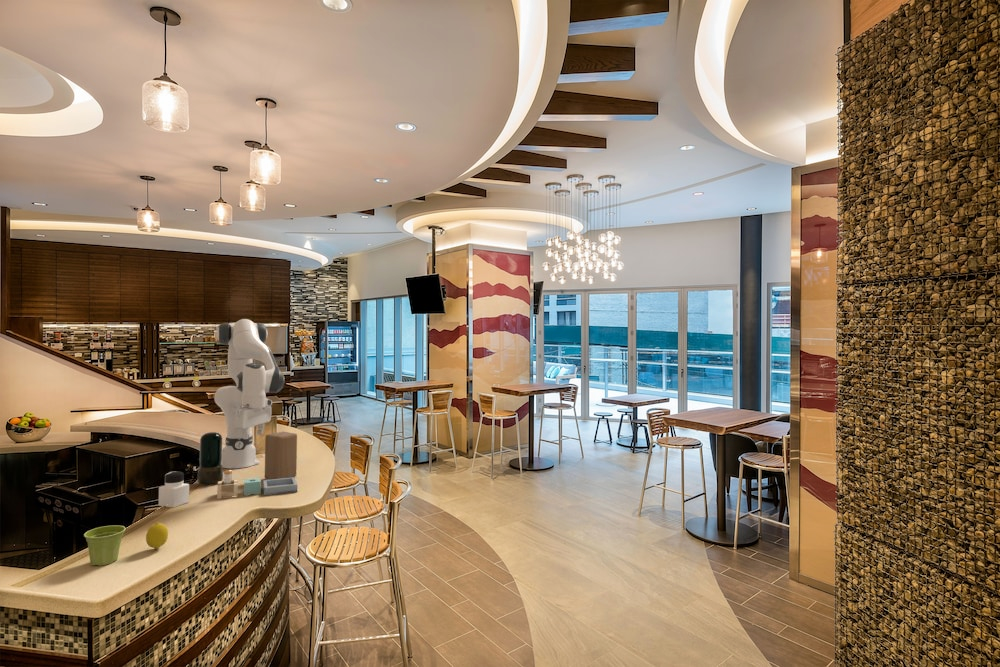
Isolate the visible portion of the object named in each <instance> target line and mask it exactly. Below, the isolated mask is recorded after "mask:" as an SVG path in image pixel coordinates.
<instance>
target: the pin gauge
mask: <svg viewBox="0 0 1000 667" xmlns="http://www.w3.org/2000/svg"><path fill="white" fill-rule="evenodd" d="M232 470H233V469H225V470H224V469H223V481H224V485H226V484H231V480H233V479H232V474H233V471H232Z"/></svg>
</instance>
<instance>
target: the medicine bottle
mask: <svg viewBox="0 0 1000 667" xmlns="http://www.w3.org/2000/svg"><path fill="white" fill-rule="evenodd" d="M184 475H185V473H184V472H182V471H178V470H177V471H169V472H168V473H166V474H165V475H164V485H162V486H159V487H158V506H159V507H164V506H166V505H167V504H168V505H167V506H166V508H176V507H179V506H181V505H184V504H185V505H186V504H187V503H189V502H190V483H184V480H185V479H184V478H185V476H184Z"/></svg>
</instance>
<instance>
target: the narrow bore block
mask: <svg viewBox="0 0 1000 667" xmlns="http://www.w3.org/2000/svg"><path fill="white" fill-rule="evenodd" d="M243 480H244V482H243V483H244V484H243V486H244V488H243V494H244V495H245V496H249V495H248V494H254V495H261V494H262V492H261V490H262V480H261V477H254V478H246V479H243ZM244 495H243V496H244Z"/></svg>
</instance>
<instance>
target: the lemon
mask: <svg viewBox="0 0 1000 667" xmlns="http://www.w3.org/2000/svg"><path fill="white" fill-rule="evenodd" d="M168 536H169V531H168V527H167V525H165V524H163V523H161V522H155V523H154V524H152V525H151V526H150V527H149V528H148V529H147V532H146V535H145V541H146V544H147V545H148V547H150V548H153V549H155V550H159V548H161V547H162V546H164V545H165V544H166V542H167V540H168Z"/></svg>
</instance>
